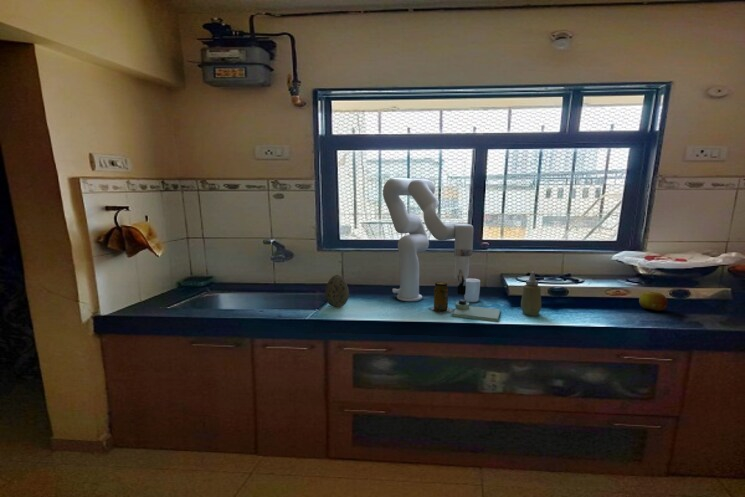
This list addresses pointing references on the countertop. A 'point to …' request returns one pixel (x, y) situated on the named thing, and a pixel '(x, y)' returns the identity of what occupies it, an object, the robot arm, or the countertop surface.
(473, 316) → the scale
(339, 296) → the decorative egg
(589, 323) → the countertop surface
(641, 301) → the fruit
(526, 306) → the squeeze bottle
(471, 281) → the white cup
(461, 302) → the tare button
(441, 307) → the condiment
